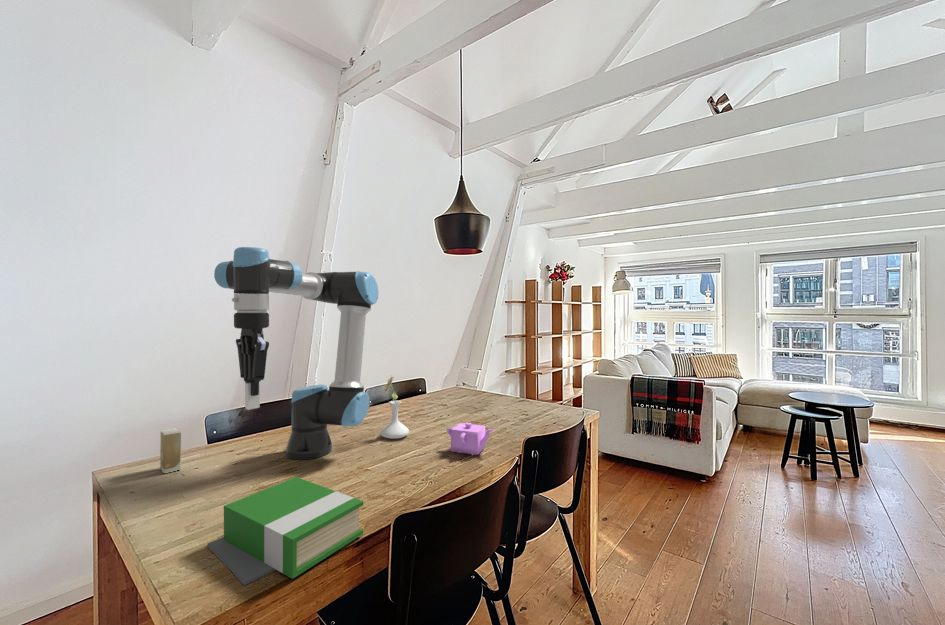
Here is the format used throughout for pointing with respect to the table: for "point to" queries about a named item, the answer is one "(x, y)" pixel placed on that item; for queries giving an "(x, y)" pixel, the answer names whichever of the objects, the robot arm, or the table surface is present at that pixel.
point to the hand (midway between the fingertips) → (252, 408)
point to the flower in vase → (394, 418)
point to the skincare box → (170, 450)
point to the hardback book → (292, 524)
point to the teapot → (468, 438)
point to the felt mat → (239, 561)
